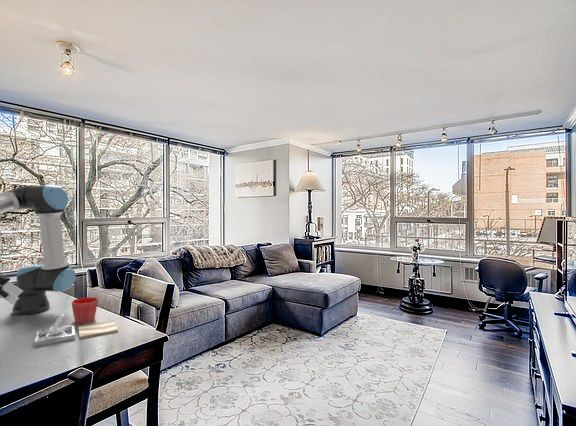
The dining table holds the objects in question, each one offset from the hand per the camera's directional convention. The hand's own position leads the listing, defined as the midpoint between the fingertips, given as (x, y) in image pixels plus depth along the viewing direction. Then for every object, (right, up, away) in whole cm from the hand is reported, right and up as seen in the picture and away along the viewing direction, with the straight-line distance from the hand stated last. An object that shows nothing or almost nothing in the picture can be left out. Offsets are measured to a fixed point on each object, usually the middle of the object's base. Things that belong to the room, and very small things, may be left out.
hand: (18, 297), depth 125 cm
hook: (+10, -19, +6) cm, 22 cm away
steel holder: (+10, -18, +6) cm, 22 cm away
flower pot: (+9, -18, +27) cm, 34 cm away
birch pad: (+22, -18, +15) cm, 32 cm away
